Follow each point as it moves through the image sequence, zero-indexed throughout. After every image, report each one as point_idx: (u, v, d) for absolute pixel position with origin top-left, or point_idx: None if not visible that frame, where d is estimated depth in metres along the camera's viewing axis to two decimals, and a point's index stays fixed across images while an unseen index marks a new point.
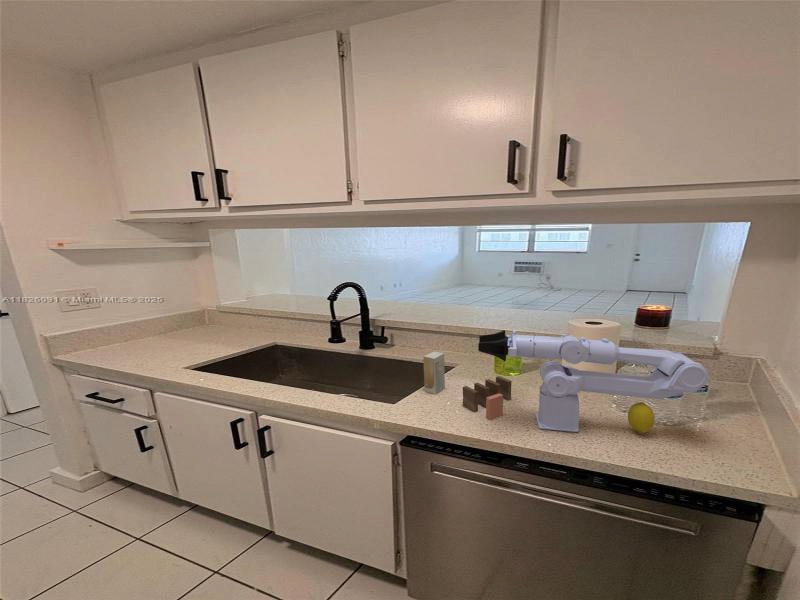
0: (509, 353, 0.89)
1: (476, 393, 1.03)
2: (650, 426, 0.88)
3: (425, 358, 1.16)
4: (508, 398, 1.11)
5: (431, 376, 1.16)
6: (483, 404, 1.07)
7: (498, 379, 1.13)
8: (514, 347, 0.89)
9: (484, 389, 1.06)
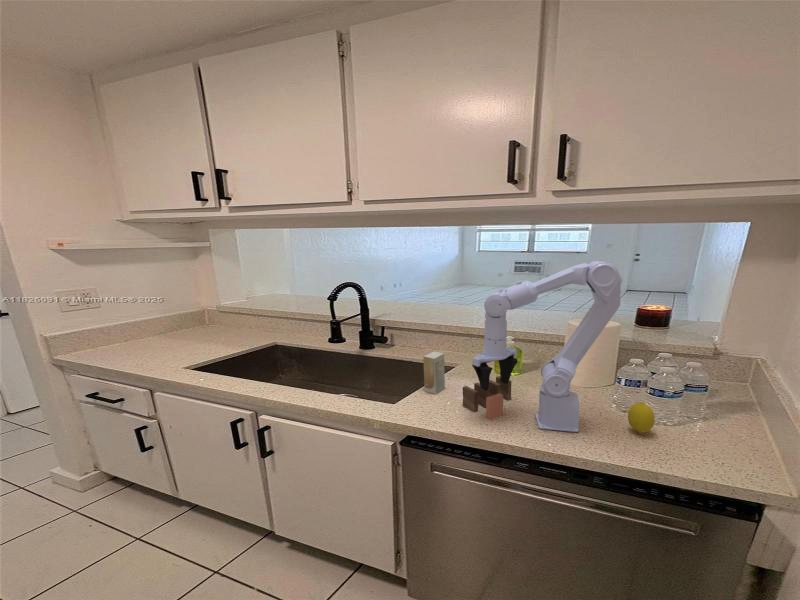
0: (475, 364, 0.94)
1: (476, 393, 1.03)
2: (650, 426, 0.88)
3: (425, 358, 1.16)
4: (508, 398, 1.11)
5: (431, 376, 1.16)
6: (483, 404, 1.07)
7: (498, 379, 1.13)
8: None
9: None
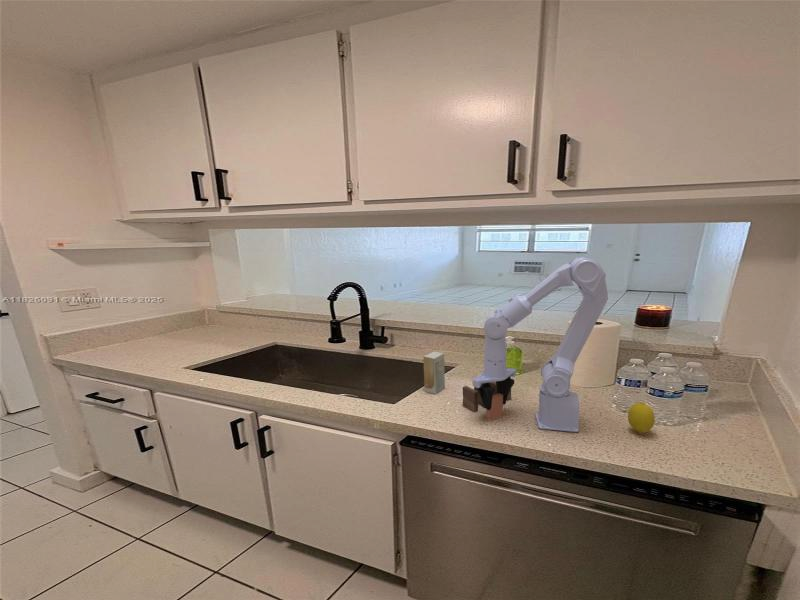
0: (475, 386, 0.95)
1: (476, 393, 1.03)
2: (650, 426, 0.88)
3: (425, 358, 1.16)
4: (508, 398, 1.11)
5: (431, 376, 1.16)
6: None
7: None
8: None
9: None
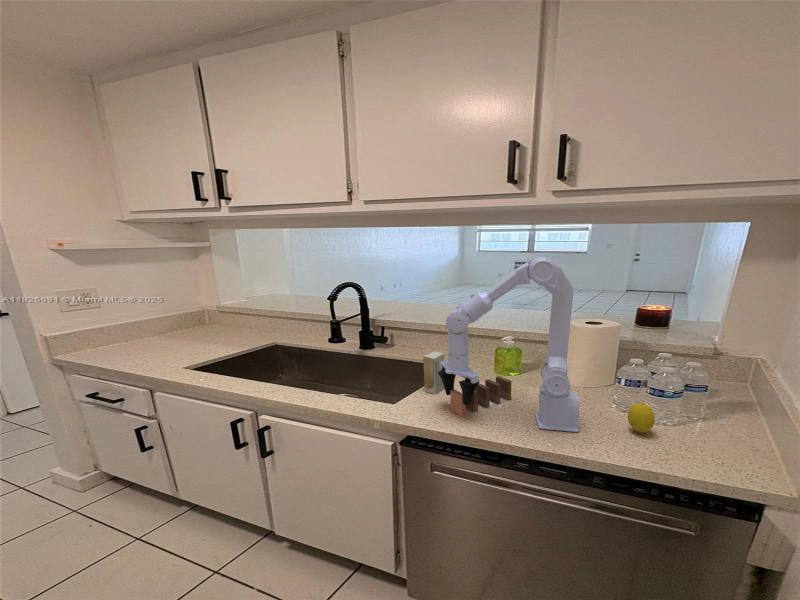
0: (476, 381, 0.96)
1: (476, 393, 1.03)
2: (650, 426, 0.88)
3: (425, 358, 1.16)
4: (508, 398, 1.11)
5: (431, 376, 1.16)
6: (483, 404, 1.07)
7: (498, 379, 1.13)
8: (470, 377, 0.96)
9: (484, 389, 1.06)
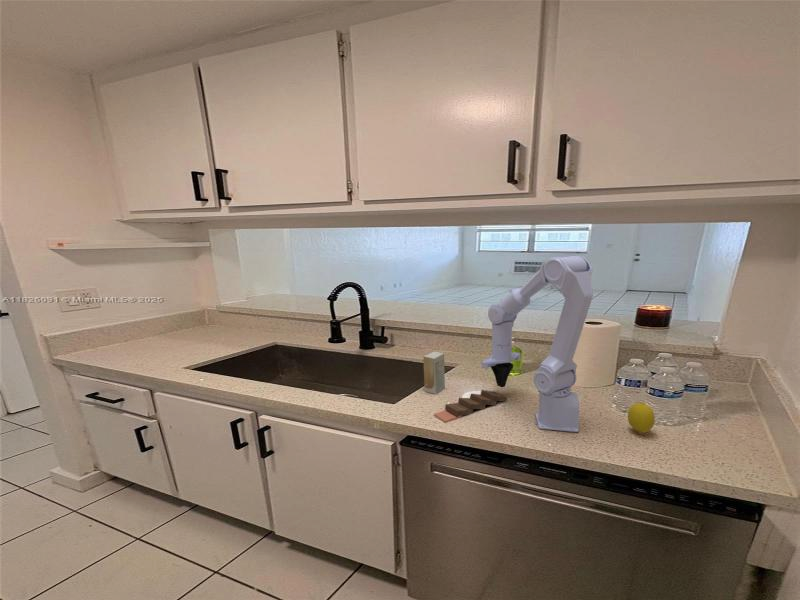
0: (484, 367, 1.07)
1: (458, 413, 1.00)
2: (650, 426, 0.88)
3: (425, 358, 1.16)
4: (504, 400, 1.10)
5: (431, 376, 1.16)
6: None
7: None
8: None
9: None
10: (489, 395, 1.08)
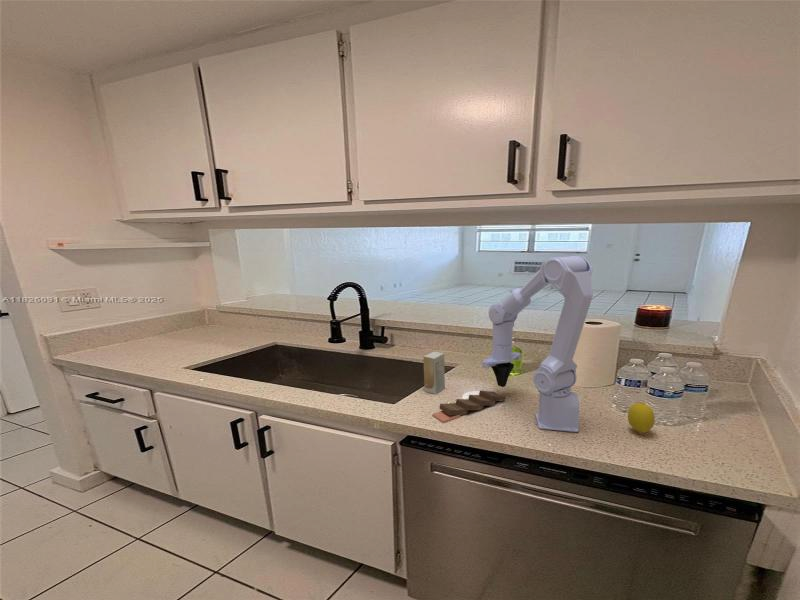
0: (485, 367, 1.07)
1: (451, 412, 1.00)
2: (650, 426, 0.88)
3: (425, 358, 1.16)
4: (503, 400, 1.10)
5: (431, 376, 1.16)
6: None
7: None
8: None
9: None
10: (488, 395, 1.08)
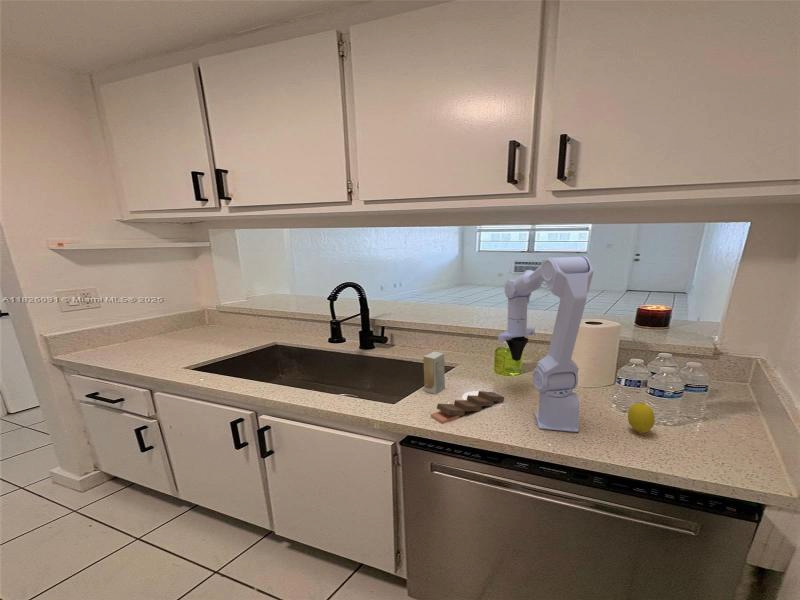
0: (500, 340, 1.10)
1: (450, 412, 0.98)
2: (650, 426, 0.88)
3: (425, 358, 1.16)
4: (502, 400, 1.09)
5: (431, 376, 1.16)
6: None
7: None
8: None
9: None
10: (487, 396, 1.08)
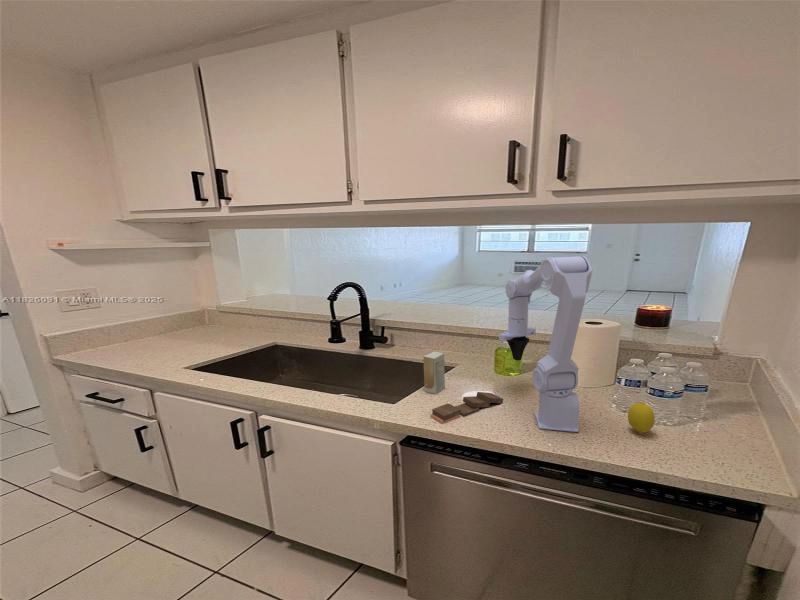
0: (501, 340, 1.11)
1: (445, 417, 0.98)
2: (650, 426, 0.88)
3: (425, 358, 1.16)
4: (501, 402, 1.08)
5: (431, 376, 1.16)
6: None
7: None
8: None
9: None
10: (485, 397, 1.07)
